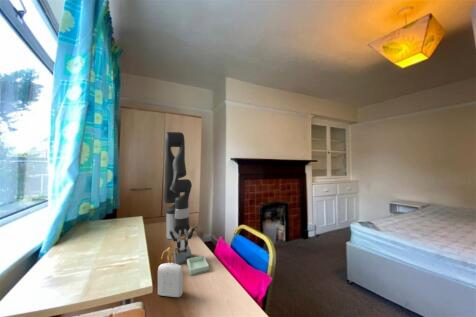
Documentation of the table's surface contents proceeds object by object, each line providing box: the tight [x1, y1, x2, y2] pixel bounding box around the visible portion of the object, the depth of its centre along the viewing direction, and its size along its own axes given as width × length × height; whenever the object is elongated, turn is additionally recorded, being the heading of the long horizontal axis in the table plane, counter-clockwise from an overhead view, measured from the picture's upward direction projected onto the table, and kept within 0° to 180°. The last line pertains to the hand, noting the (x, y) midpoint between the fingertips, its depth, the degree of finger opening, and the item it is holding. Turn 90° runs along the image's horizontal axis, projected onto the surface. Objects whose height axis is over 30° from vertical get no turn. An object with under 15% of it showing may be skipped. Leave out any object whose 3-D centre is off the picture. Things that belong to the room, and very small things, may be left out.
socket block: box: [173, 245, 192, 265], centre depth 108 cm, size 8×8×5 cm
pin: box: [180, 235, 186, 253], centre depth 108 cm, size 4×4×13 cm
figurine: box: [160, 246, 179, 263], centre depth 96 cm, size 8×6×12 cm
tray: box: [186, 255, 210, 276], centre depth 100 cm, size 11×9×2 cm
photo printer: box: [157, 262, 184, 298], centre depth 81 cm, size 10×4×12 cm, turn 81°
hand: (182, 247), depth 108 cm, fingers closed on pin, 3 cm apart
